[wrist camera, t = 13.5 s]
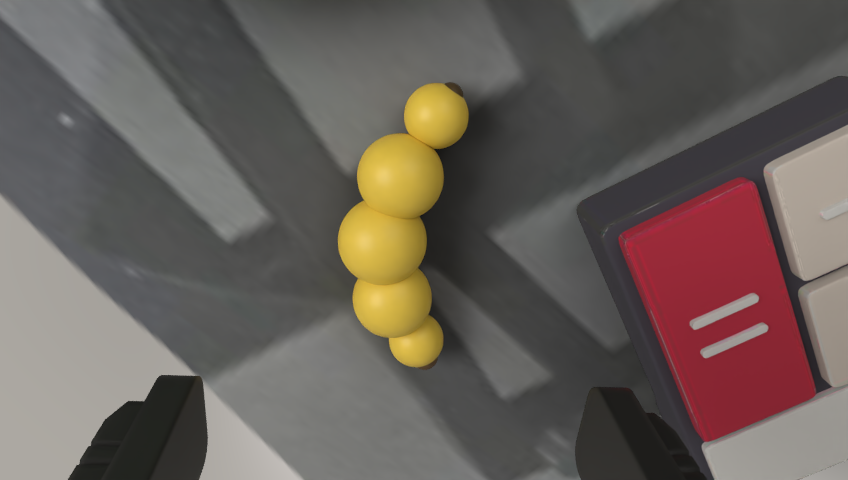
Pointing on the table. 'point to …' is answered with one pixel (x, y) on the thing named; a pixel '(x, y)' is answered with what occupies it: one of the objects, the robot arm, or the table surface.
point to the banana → (401, 224)
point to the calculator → (741, 287)
